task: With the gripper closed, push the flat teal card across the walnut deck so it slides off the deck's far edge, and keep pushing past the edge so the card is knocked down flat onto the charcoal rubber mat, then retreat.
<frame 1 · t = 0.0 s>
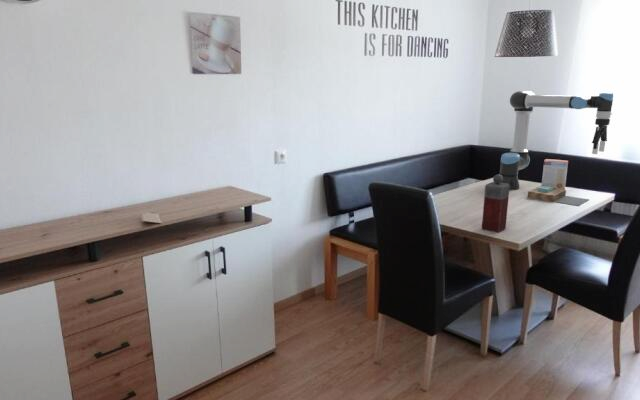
hand: (598, 152, 297), 28 cm above the table, fingers open, 13 cm apart
red square decanter: (494, 228, 243), on the table
cracker box: (552, 191, 319), on the table
deck: (546, 196, 304), on the table
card: (545, 190, 304), point 4 cm above the table, touching deck
mat: (571, 200, 294), on the table
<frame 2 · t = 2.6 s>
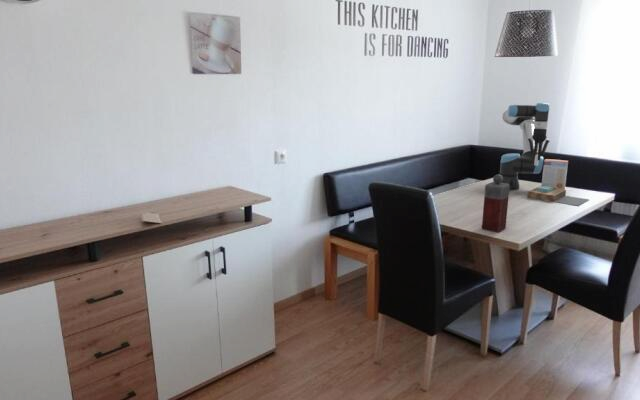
hand: (536, 165, 305), 19 cm above the table, fingers closed
nothing on the table moved.
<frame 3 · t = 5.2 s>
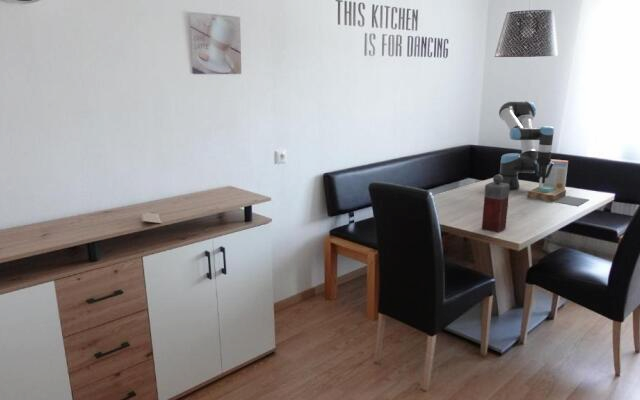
hand: (540, 188, 305), 5 cm above the table, fingers closed
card: (546, 190, 303), point 4 cm above the table, touching deck, gripper
everything else where it was.
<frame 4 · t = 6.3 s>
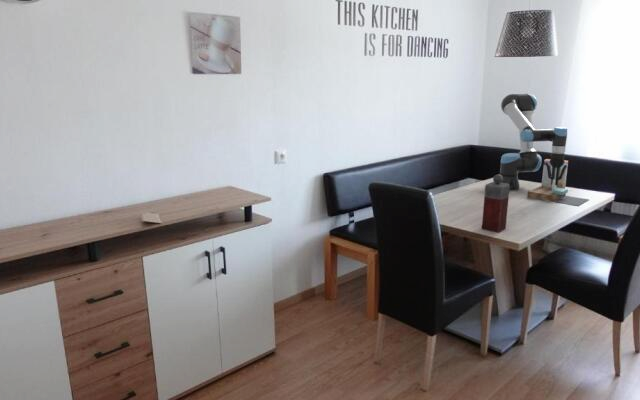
hand: (553, 189, 300), 5 cm above the table, fingers closed
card: (559, 192, 298), point 4 cm above the table, touching gripper
everything else where it was.
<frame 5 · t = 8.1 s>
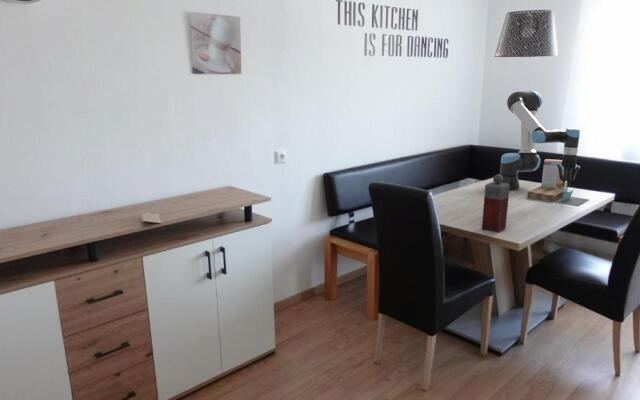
hand: (565, 191, 295), 5 cm above the table, fingers closed
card: (565, 194, 295), point 4 cm above the table, tilted 104°, touching mat
everything else where it was.
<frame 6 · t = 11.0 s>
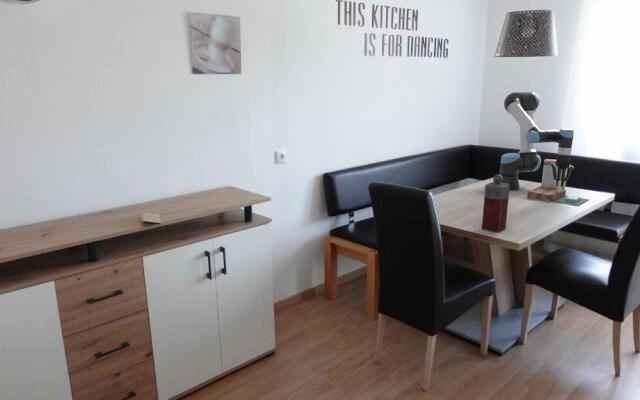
hand: (559, 191, 298), 5 cm above the table, fingers closed
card: (573, 197, 293), point 2 cm above the table, tilted 180°, touching mat
everything else where it was.
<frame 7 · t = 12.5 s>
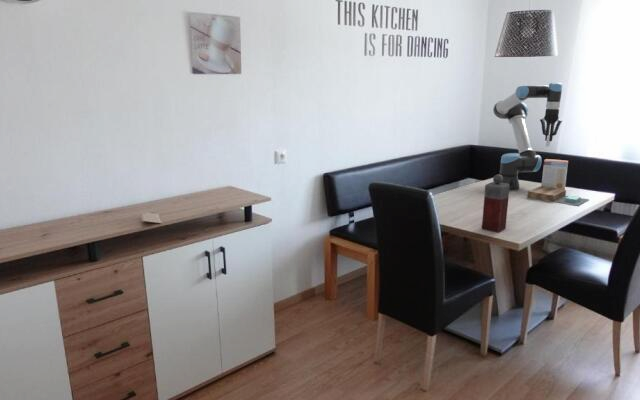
hand: (547, 146, 303), 31 cm above the table, fingers closed
nothing on the table moved.
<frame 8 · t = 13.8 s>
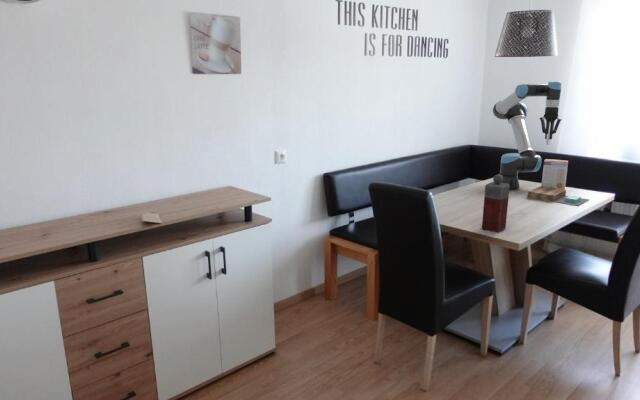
hand: (547, 144, 303), 32 cm above the table, fingers closed
nothing on the table moved.
at the end: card point 2.3 cm above the table; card inside the target area on the mat (0.6 cm from its centre), point 2.3 cm above the mat's base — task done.
